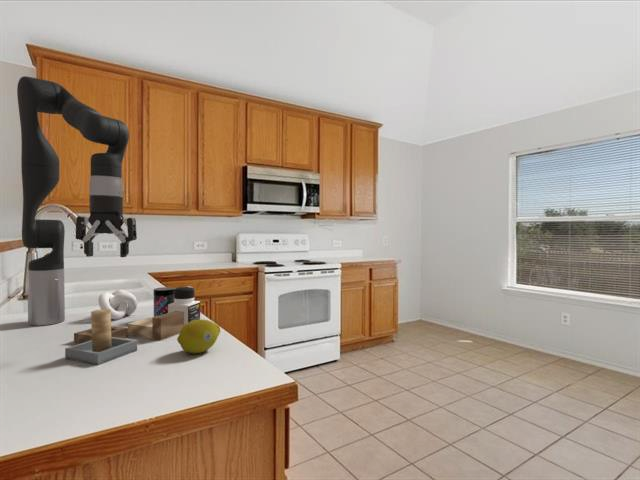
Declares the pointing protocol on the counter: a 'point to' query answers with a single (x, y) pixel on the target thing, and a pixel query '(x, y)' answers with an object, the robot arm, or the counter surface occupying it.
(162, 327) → the block
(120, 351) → the tray
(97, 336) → the dowel
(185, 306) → the medicine bottle
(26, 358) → the counter surface
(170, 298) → the supplement container
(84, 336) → the socket block
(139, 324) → the light wooden block
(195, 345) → the lemon
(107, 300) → the white knot sculpture
